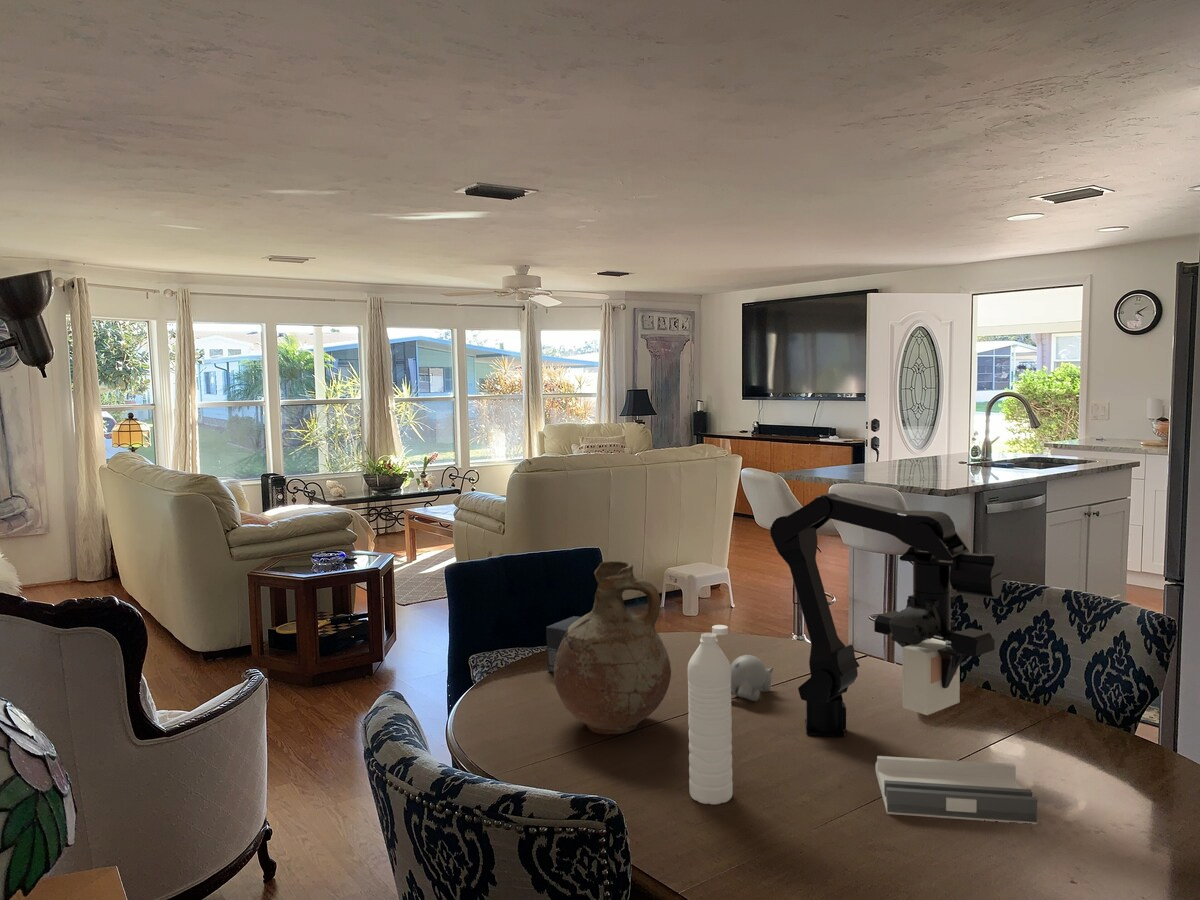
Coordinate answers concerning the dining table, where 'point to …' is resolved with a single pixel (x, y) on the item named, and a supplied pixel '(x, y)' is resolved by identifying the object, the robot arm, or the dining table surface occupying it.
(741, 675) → the round bodied animal figurine
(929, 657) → the cream carton
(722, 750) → the water bottle
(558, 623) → the small box
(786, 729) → the dining table surface
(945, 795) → the shelf
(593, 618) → the jug
